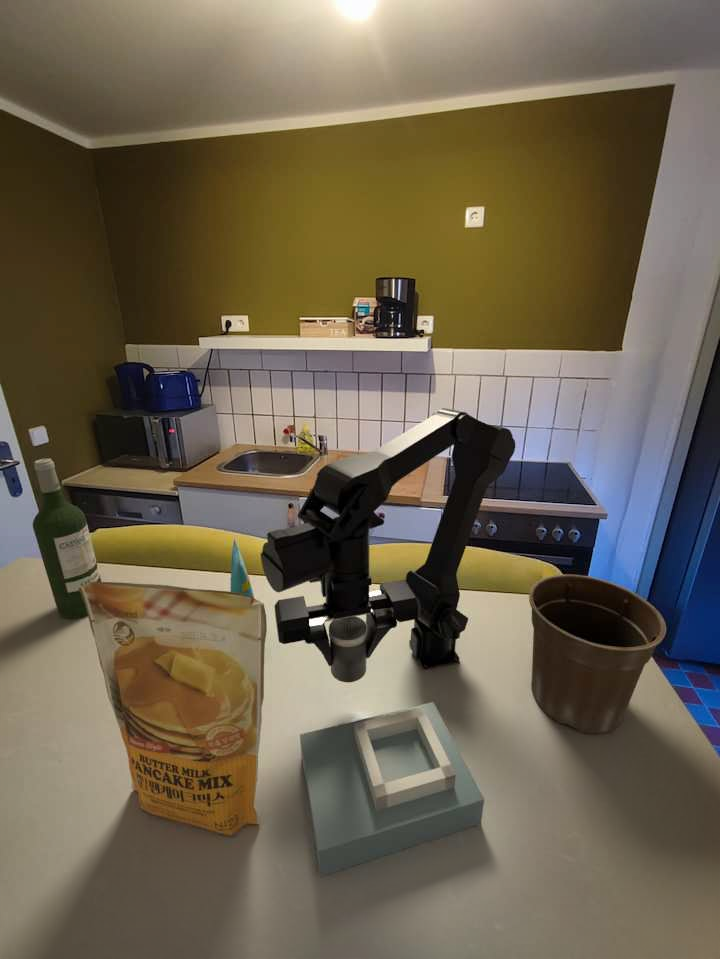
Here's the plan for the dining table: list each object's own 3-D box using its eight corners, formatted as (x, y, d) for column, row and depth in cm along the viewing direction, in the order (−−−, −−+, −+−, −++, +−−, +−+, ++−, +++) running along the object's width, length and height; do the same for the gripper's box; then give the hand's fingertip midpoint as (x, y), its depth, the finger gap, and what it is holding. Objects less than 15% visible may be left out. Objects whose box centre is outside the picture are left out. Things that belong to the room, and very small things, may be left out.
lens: (361, 652, 63) (361, 612, 61) (371, 678, 58) (372, 636, 56) (326, 659, 62) (325, 618, 59) (334, 686, 57) (333, 644, 55)
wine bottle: (90, 619, 80) (49, 468, 70) (48, 619, 80) (2, 468, 70) (113, 594, 87) (80, 454, 77) (75, 594, 88) (37, 454, 77)
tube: (267, 655, 71) (257, 555, 64) (237, 665, 69) (224, 562, 62) (256, 628, 77) (245, 534, 71) (228, 636, 75) (215, 540, 69)
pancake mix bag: (148, 752, 55) (102, 564, 46) (286, 788, 51) (268, 588, 41) (108, 806, 49) (45, 602, 39) (261, 852, 45) (232, 634, 35)
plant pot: (493, 674, 67) (504, 586, 62) (570, 646, 73) (587, 564, 67) (577, 767, 53) (602, 665, 48) (665, 724, 59) (696, 628, 53)
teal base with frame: (431, 724, 59) (434, 690, 57) (480, 823, 47) (486, 786, 45) (301, 757, 54) (299, 722, 52) (319, 877, 43) (317, 838, 41)
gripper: (394, 525, 64) (392, 612, 69) (267, 542, 59) (275, 634, 65) (424, 563, 54) (419, 662, 59) (274, 587, 49) (283, 691, 54)
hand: (348, 659), depth 60 cm, fingers closed on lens, 5 cm apart
